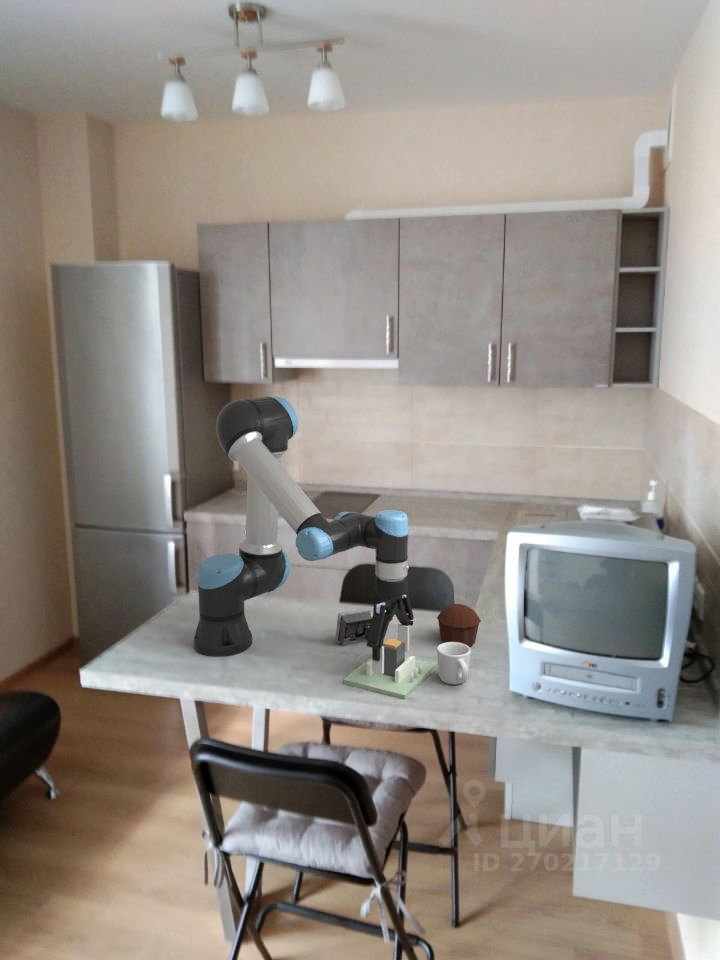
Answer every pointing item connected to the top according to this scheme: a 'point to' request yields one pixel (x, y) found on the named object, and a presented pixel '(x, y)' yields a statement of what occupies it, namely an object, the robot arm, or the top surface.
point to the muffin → (458, 624)
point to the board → (397, 686)
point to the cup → (453, 662)
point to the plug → (393, 656)
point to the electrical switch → (353, 626)
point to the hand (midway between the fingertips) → (391, 661)
